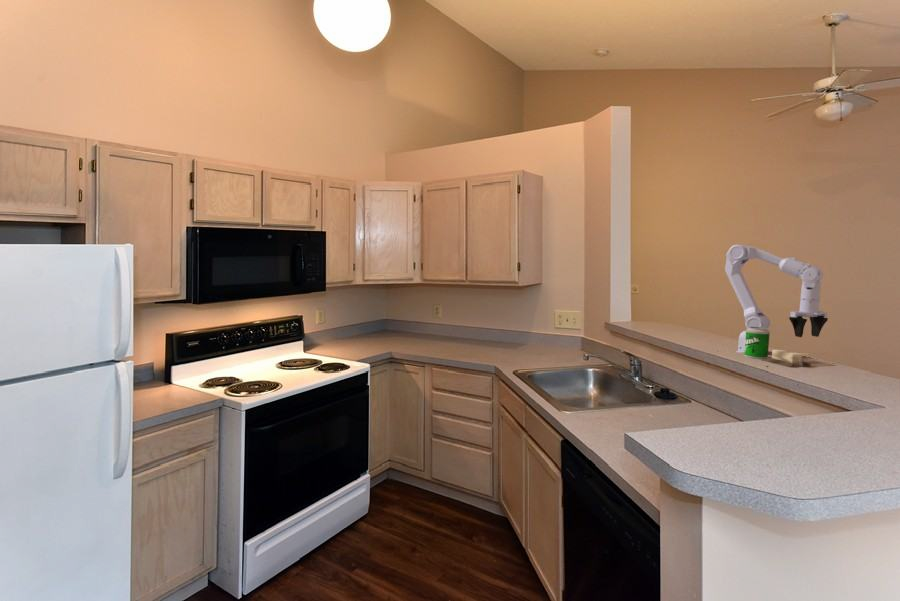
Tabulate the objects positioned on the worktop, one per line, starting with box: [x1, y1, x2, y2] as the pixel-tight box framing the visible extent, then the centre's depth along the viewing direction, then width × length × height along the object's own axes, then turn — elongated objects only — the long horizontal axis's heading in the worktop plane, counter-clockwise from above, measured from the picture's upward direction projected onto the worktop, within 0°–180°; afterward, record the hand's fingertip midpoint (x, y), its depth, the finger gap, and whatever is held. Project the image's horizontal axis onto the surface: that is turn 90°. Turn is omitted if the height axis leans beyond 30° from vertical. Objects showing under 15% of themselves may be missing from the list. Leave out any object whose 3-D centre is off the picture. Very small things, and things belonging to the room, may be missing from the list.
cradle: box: [761, 356, 837, 368], centre depth 175 cm, size 12×20×4 cm, turn 104°
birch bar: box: [771, 349, 803, 366], centre depth 174 cm, size 8×4×4 cm, turn 14°
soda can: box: [743, 327, 771, 360], centre depth 184 cm, size 8×8×12 cm
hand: (806, 336), depth 182 cm, fingers open, 7 cm apart
